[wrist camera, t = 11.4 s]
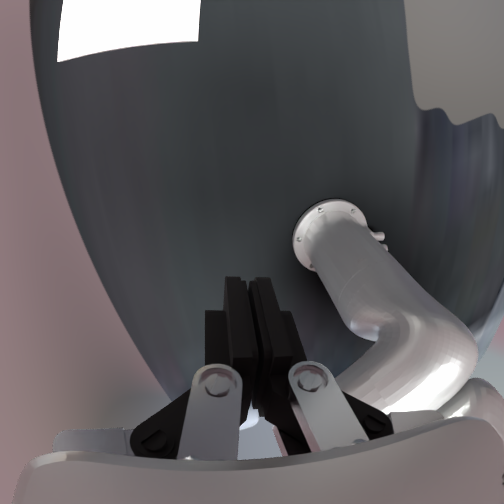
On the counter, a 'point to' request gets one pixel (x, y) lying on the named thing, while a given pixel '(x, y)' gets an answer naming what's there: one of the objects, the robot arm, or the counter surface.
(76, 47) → the mat
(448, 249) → the counter surface
